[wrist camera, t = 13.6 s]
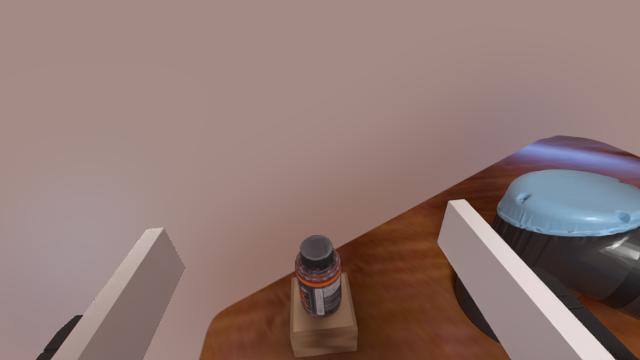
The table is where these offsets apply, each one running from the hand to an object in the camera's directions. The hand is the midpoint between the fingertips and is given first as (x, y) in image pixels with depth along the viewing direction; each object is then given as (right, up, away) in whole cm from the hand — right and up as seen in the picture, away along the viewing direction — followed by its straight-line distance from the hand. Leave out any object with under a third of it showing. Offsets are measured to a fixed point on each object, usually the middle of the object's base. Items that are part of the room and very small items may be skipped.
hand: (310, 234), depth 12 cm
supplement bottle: (+1, -15, +25) cm, 29 cm away
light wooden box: (+1, -20, +28) cm, 34 cm away
